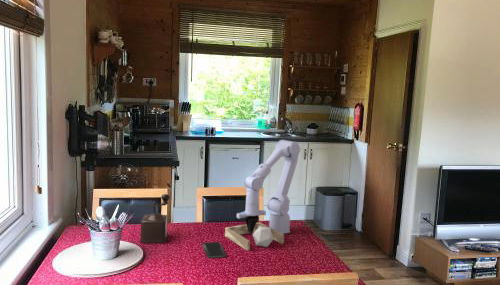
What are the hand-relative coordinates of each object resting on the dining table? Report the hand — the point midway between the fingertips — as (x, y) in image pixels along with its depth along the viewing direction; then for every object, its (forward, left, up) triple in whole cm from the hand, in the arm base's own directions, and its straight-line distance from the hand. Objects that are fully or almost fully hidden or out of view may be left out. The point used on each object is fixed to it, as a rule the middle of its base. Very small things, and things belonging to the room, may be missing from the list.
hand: (250, 231), depth 185 cm
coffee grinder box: (+38, -19, -3) cm, 42 cm away
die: (0, +10, -3) cm, 10 cm away
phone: (+22, +6, -3) cm, 23 cm away
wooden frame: (0, +3, -3) cm, 4 cm away
